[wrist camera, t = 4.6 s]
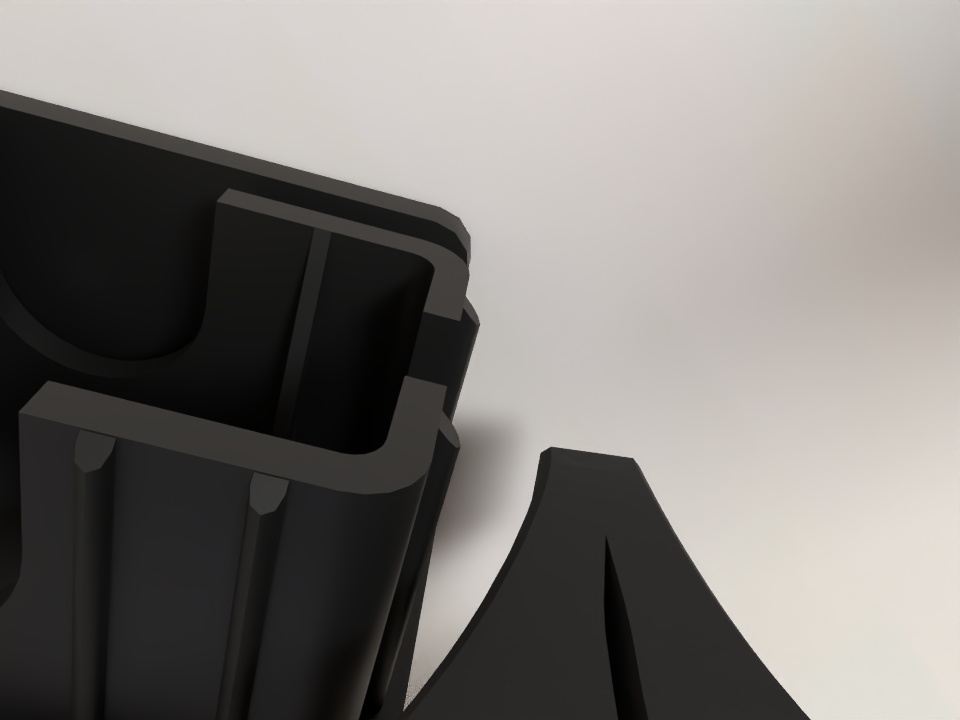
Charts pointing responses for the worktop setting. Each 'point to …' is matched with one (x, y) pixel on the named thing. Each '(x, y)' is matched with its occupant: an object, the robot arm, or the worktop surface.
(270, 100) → the worktop surface
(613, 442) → the worktop surface
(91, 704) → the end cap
